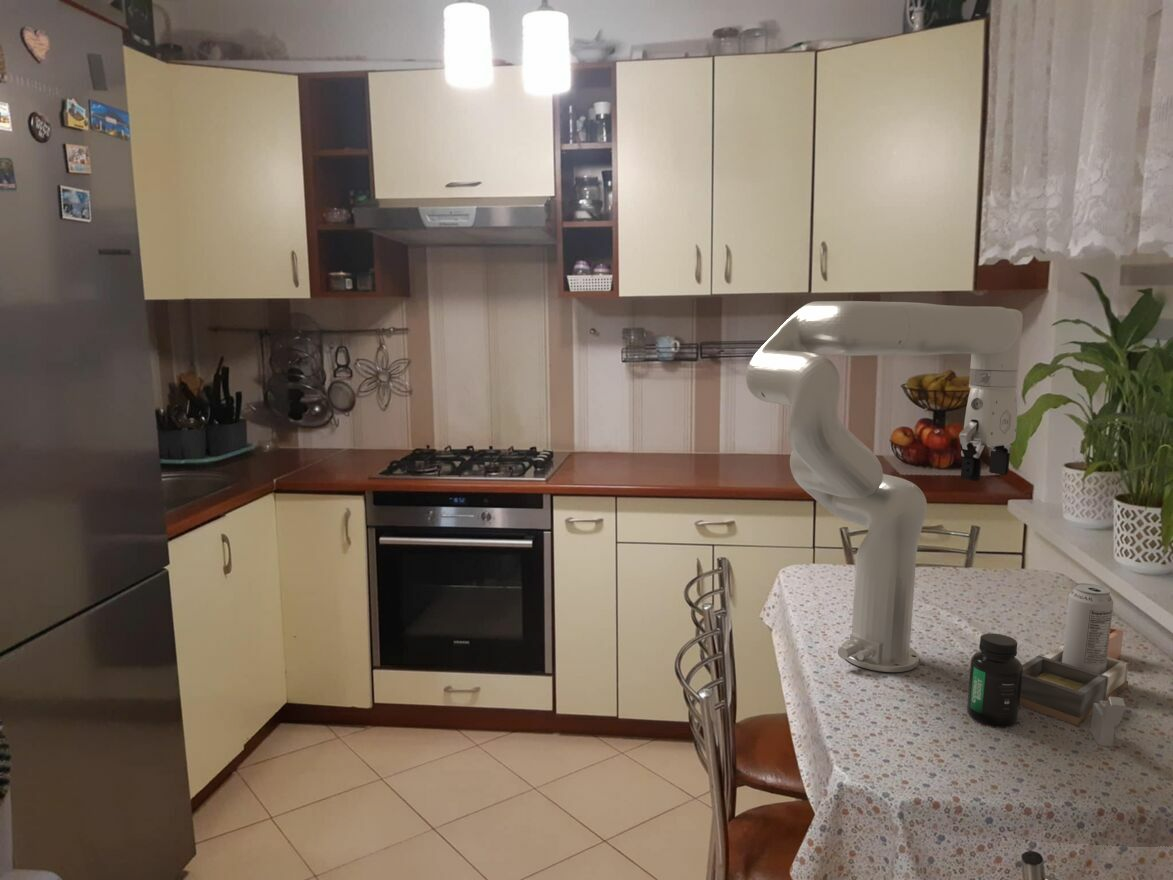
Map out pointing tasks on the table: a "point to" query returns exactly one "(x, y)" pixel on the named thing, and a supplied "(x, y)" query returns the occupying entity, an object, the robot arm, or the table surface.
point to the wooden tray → (1067, 700)
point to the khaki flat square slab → (1060, 681)
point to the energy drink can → (1088, 627)
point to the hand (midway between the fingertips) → (984, 476)
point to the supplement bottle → (995, 681)
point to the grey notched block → (1106, 719)
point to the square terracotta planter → (1115, 643)
